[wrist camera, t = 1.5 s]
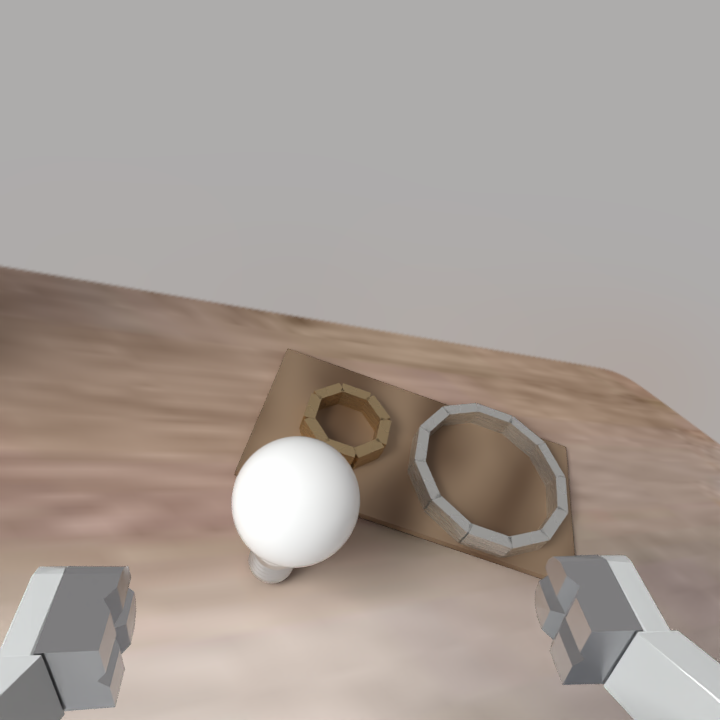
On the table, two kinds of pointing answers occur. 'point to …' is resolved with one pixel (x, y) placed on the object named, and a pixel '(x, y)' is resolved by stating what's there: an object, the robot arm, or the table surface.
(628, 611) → the robot arm
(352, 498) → the lightbulb
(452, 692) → the table surface
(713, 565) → the table surface
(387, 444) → the socket board
